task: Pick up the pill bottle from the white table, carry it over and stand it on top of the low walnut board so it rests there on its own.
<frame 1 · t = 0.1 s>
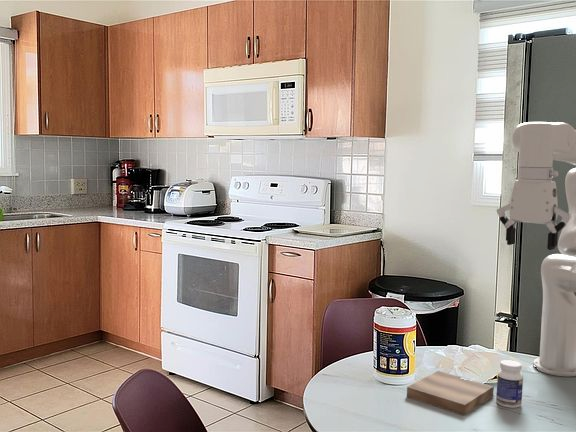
hand: (530, 246, 150), 37 cm above the table, tool pointing down, fingers open, 9 cm apart
walnut board: (450, 396, 152), on the table
pill bottle: (508, 404, 149), on the table
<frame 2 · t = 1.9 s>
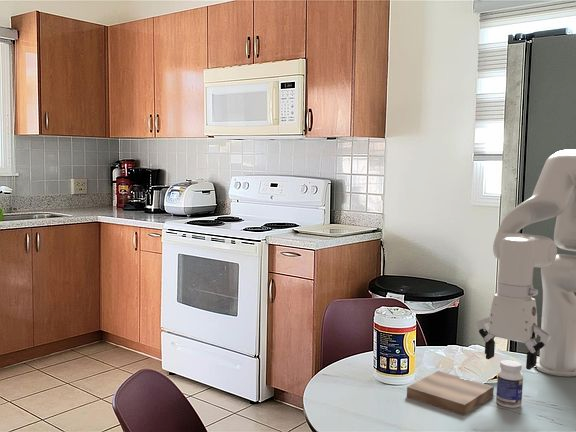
hand: (509, 362, 147), 10 cm above the table, tool pointing down, fingers open, 9 cm apart
nothing on the table moved.
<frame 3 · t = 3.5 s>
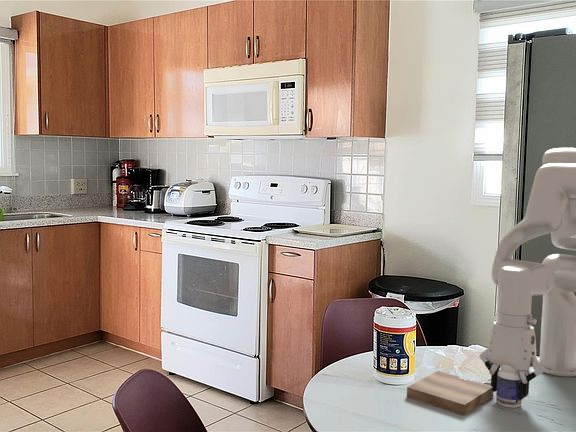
hand: (509, 393, 148), 3 cm above the table, tool pointing down, fingers closed on pill bottle, 5 cm apart
pill bottle: (508, 404, 149), on the table, touching gripper
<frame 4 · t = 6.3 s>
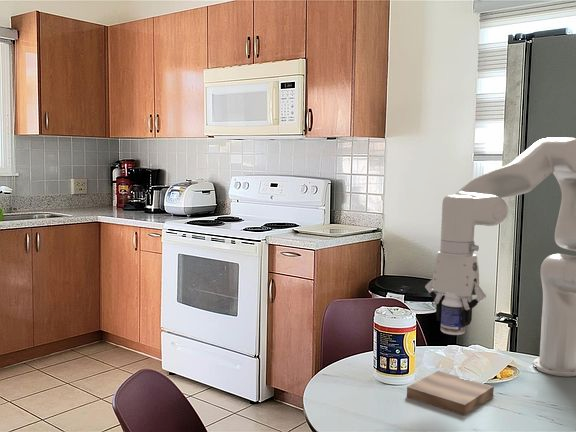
hand: (453, 321, 150), 19 cm above the table, tool pointing down, fingers closed on pill bottle, 5 cm apart
pill bottle: (452, 332, 150), point 16 cm above the table, touching gripper
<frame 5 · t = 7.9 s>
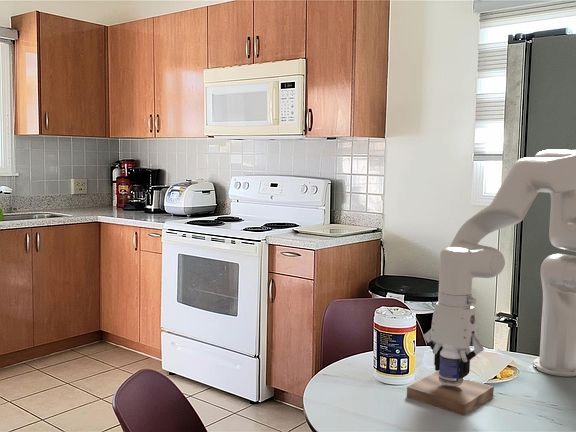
hand: (451, 372, 152), 6 cm above the table, tool pointing down, fingers closed on pill bottle, 5 cm apart
pill bottle: (450, 383, 152), point 3 cm above the table, touching gripper
when the fingers open (6 cm above the table, at t = 9.1 s): pill bottle stays where it is, resting on walnut board.
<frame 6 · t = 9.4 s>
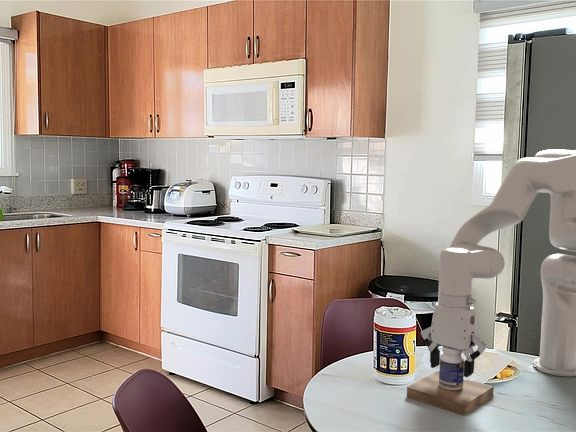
hand: (451, 370, 152), 7 cm above the table, tool pointing down, fingers open, 8 cm apart
pill bottle: (450, 387, 152), point 2 cm above the table, touching walnut board
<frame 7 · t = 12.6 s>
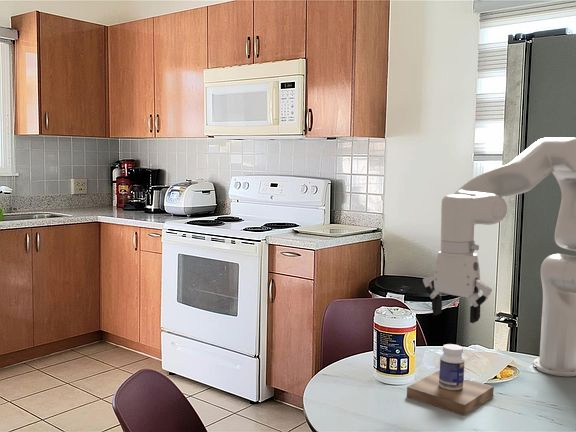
hand: (455, 317, 150), 20 cm above the table, tool pointing down, fingers open, 9 cm apart
nothing on the table moved.
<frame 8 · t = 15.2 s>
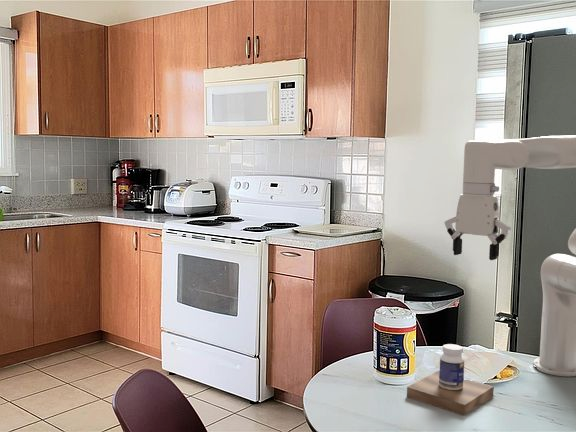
hand: (475, 256, 160), 32 cm above the table, tool pointing down, fingers open, 9 cm apart
nothing on the table moved.
at the end: pill bottle inside the target area on the walnut board (0.1 cm from its centre), point 2.3 cm above the walnut board's base; pill bottle tilted 0°; the gripper is holding nothing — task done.
